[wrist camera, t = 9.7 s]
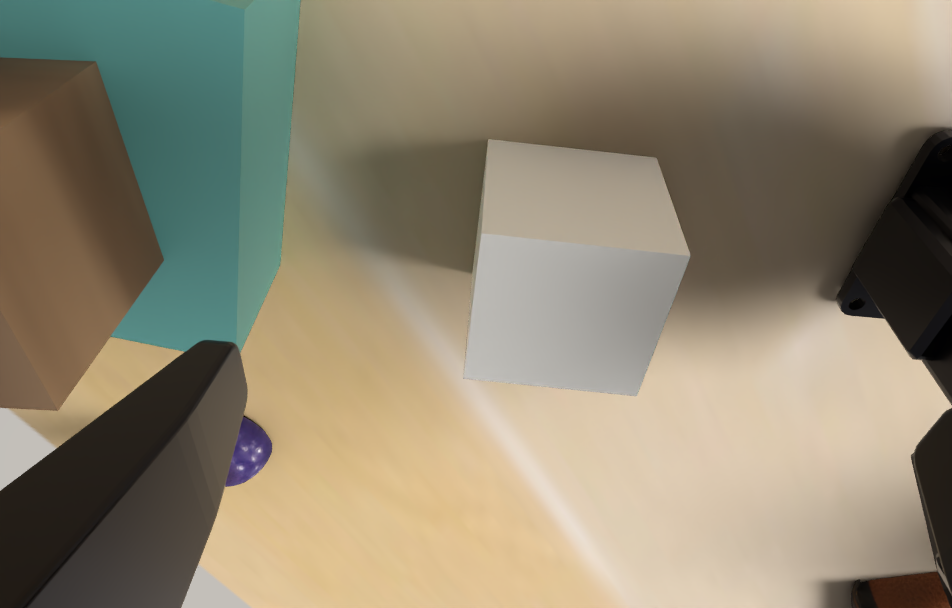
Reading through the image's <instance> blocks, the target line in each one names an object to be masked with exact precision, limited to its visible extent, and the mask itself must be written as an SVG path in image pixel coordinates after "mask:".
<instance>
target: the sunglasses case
mask: <svg viewBox="0 0 952 608" xmlns="http://www.w3.org/2000/svg"><path fill="white" fill-rule="evenodd" d="M851 601H852V608H951V607H950V605H949V603H948V600H947V596H946V594H945V592H944V590H943V587H942V584H941V581H940V578H939V575H938V572H930V573H924V574H914V575H905V576H897V577H891V578H882V579H875V580H869V581H865V582H860V580H856V582H855V584H854V587H853V590H852V593H851Z"/></svg>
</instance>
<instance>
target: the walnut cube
mask: <svg viewBox="0 0 952 608" xmlns="http://www.w3.org/2000/svg"><path fill="white" fill-rule="evenodd" d="M163 261H164V258H163V255H162V252H161V249H160V247H159V244H158V241H157V238H156V235H155V232H154V229H153V226H152V223H151V220H150V217H149V214H148V212H147V209H146V206H145V203H144V200H143V197H142V194H141V191H140V188H139V185H138V182H137V179H136V176H135V174H134V171H133V168H132V165H131V162H130V159H129V156H128V153H127V150H126V147H125V144H124V141H123V138H122V136H121V133H120V130H119V127H118V124H117V121H116V118H115V115H114V112H113V109H112V106H111V103H110V100H109V98H108V95H107V92H106V89H105V86H104V83H103V80H102V77H101V74H100V71H99V68H98V66H97V63H96V61H75V60H51V59H27V58H4V57H0V408H17V409H36V410H55V411H58V410H59V408H60V407H61V406H62V404H63V403H64V401H65V400H66V398H67V397H68V396H69V394H70V393H71V391H72V390H73V389H74V387H75V386H76V384H77V383H78V381H79V380H80V379H81V377H82V376H83V374H84V373H85V372H86V370H87V369H88V367H89V366H90V365H91V363H92V362H93V360H94V359H95V357H96V356H97V355H98V353H99V352H100V350H101V349H102V348H103V346H104V345H105V343H106V342H107V340H108V339H109V338H110V336H111V335H112V333H113V332H114V331H115V329H116V328H117V326H118V325H119V323H120V322H121V321H122V319H123V318H124V316H125V315H126V314H127V312H128V311H129V309H130V308H131V306H132V305H133V304H134V302H135V301H136V299H137V298H138V297H139V295H140V294H141V292H142V291H143V290H144V288H145V287H146V285H147V284H148V282H149V281H150V280H151V278H152V277H153V275H154V274H155V273H156V271H157V270H158V268H159V267H160V265H161V264H162V263H163Z"/></svg>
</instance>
